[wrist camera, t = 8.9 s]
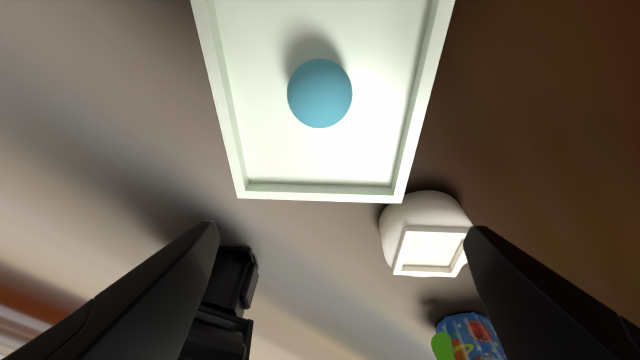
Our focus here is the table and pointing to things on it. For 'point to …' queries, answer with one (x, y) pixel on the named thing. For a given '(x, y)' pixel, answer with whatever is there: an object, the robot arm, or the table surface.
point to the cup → (424, 235)
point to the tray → (366, 79)
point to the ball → (319, 93)
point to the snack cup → (466, 339)
